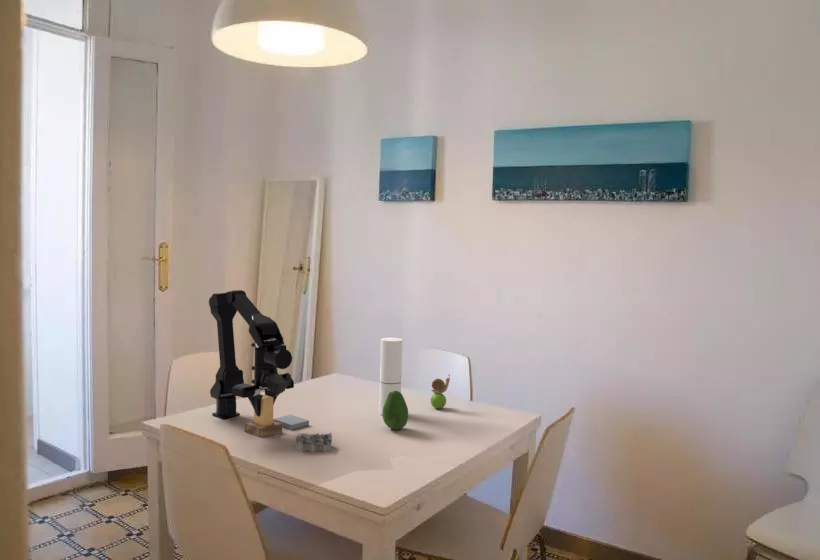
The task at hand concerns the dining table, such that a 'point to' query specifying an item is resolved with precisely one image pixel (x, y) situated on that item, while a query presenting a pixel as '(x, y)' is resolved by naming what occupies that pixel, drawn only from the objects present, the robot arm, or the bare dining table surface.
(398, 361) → the cylindrical container
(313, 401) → the dining table surface
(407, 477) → the dining table surface
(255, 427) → the brown square frame
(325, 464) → the dining table surface
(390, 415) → the avocado
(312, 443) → the egg carton
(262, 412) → the amber plug
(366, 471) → the dining table surface
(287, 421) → the grey rubber mat
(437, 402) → the snail figurine
